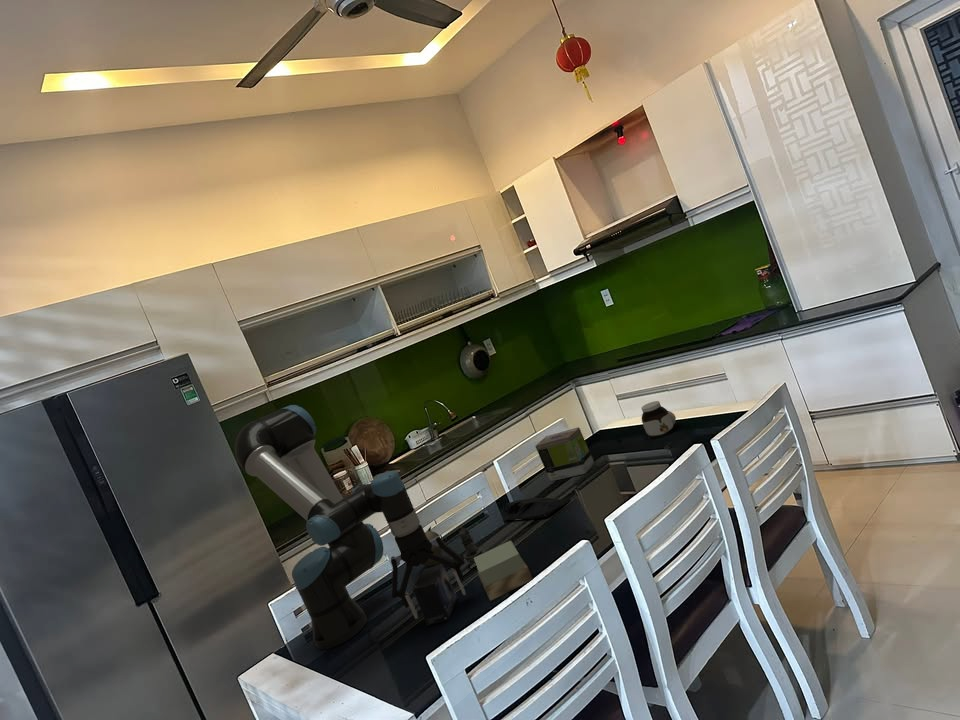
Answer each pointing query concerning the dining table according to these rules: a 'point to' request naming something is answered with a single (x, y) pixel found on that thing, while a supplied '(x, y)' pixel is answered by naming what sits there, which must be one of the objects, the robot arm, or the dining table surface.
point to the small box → (435, 595)
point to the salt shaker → (469, 546)
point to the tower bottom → (507, 583)
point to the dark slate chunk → (533, 507)
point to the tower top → (498, 563)
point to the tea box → (565, 454)
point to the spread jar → (657, 419)
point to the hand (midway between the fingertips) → (440, 604)
